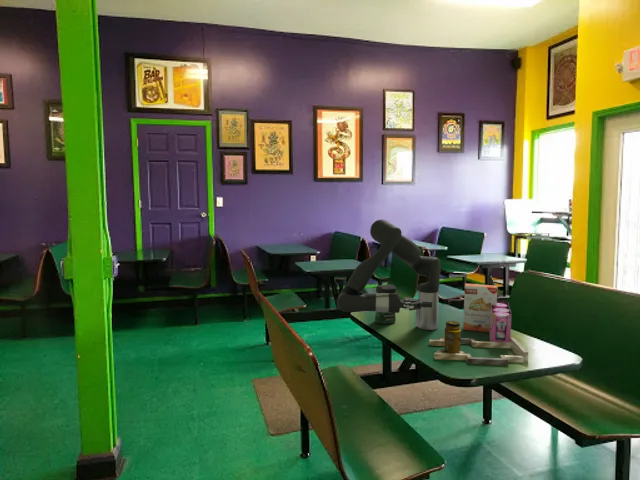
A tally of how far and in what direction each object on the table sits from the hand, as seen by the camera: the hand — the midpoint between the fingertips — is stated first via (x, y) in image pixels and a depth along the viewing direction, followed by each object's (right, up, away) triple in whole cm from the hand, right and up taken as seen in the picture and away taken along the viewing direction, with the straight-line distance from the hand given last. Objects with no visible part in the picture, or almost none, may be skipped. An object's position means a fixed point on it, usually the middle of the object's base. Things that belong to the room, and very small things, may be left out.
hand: (431, 304), depth 176 cm
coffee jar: (-12, -15, +43) cm, 47 cm away
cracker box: (+29, -16, +30) cm, 45 cm away
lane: (+17, -19, 0) cm, 26 cm away
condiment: (+7, -19, +1) cm, 21 cm away
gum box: (+34, -17, +18) cm, 42 cm away
